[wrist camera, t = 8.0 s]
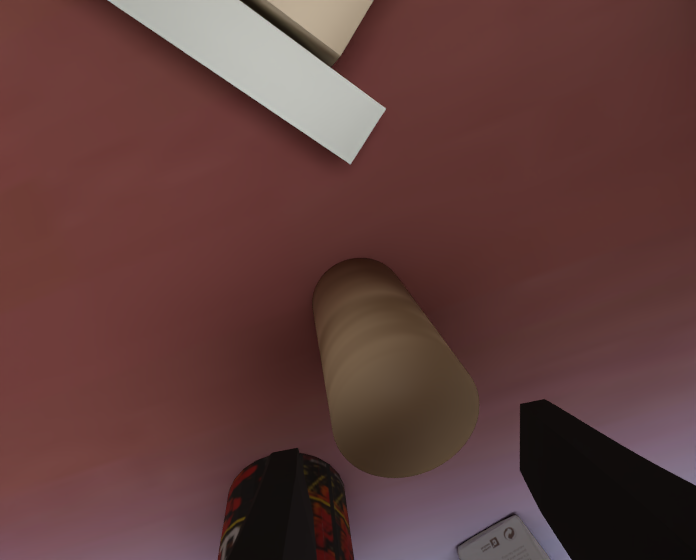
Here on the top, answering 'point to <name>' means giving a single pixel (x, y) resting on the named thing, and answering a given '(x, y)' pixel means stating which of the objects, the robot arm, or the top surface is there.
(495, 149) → the top surface
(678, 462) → the top surface
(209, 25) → the backstop wall
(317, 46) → the socket block
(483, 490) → the top surface
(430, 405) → the oak dowel
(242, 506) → the deodorant
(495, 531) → the skincare box
